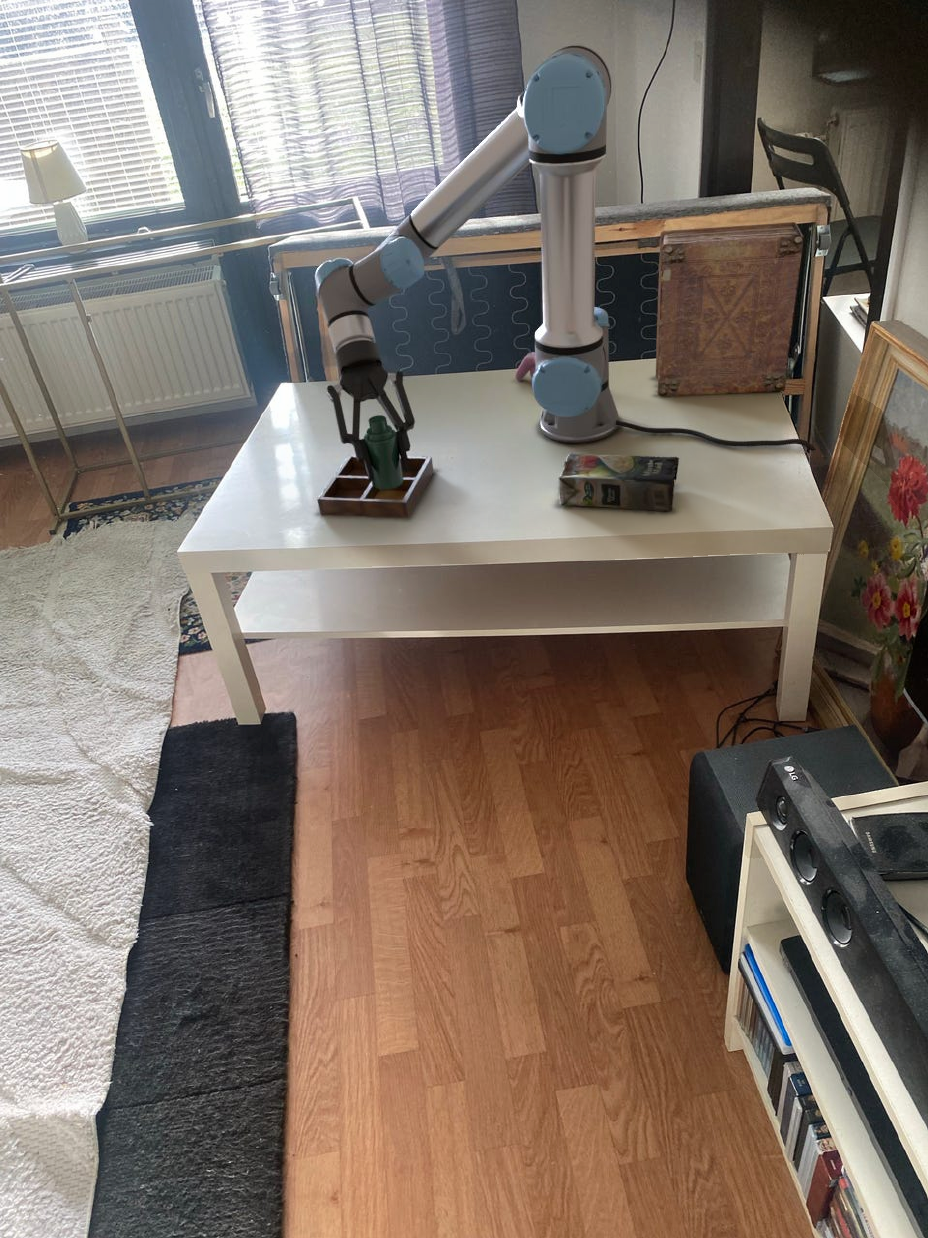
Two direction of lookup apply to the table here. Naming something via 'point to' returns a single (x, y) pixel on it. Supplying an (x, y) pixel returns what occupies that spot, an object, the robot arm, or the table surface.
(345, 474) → the tray
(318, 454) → the table surface
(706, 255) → the book
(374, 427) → the green bottle
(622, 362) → the table surface
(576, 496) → the juice carton
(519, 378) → the video game controller
